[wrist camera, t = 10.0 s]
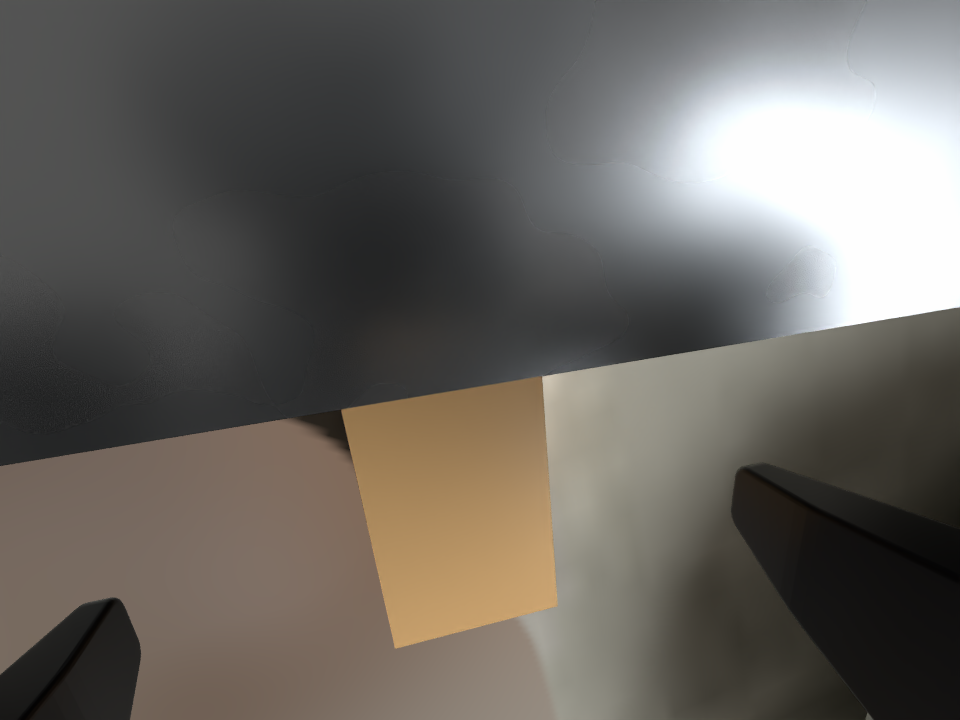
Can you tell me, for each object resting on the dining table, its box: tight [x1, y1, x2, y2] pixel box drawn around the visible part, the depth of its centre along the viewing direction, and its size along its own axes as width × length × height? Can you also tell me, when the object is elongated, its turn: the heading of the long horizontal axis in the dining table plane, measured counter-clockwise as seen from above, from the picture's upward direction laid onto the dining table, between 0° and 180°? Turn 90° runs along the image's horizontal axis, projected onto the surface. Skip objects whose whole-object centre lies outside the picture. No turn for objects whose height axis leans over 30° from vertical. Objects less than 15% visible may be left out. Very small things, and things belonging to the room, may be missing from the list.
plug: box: [341, 376, 557, 649], centre depth 9 cm, size 4×14×4 cm, turn 5°
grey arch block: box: [0, 0, 960, 466], centre depth 7 cm, size 14×7×6 cm, turn 94°
